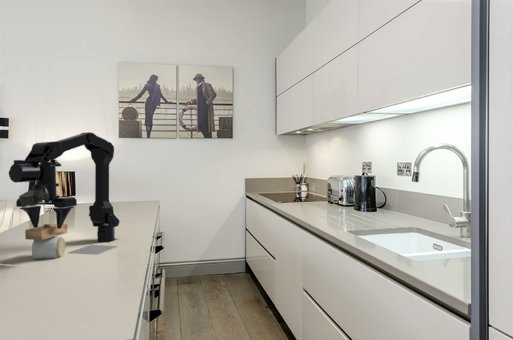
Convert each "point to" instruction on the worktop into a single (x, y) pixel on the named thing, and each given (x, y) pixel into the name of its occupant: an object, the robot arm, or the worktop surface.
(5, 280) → the worktop surface
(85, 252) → the mat
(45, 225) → the lid
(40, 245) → the ceramic mug
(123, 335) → the worktop surface
